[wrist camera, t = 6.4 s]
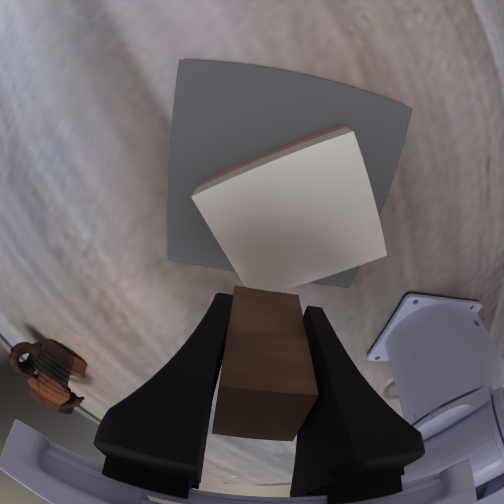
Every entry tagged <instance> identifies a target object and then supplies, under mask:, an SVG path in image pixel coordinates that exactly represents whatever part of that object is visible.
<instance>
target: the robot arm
mask: <svg viewBox="0 0 504 504" xmlns="http://www.w3.org/2000/svg"><path fill="white" fill-rule="evenodd" d="M233 296H234V295H230V294H224V293H217V294H216V295H215V297H214V300H213V302H212V304H211V306H210V307H209V309H208V311H207V313H206V314H205V316H204V318H203V319H202V320H201V322H200V323H199V325H198V326H197V328H196V329H195V331H194V332H193V333H192V335H191V336H190V337H189V339H188V340H187V341H186V342H185V344H184V345H183V346H182V347H181V348H180V350H179V351H178V352H177V353H176V354H175V355H174V356H173V357H172V358H171V360H170V361H169V362H168V363H167V364H166V365H165V366H164V367H163V368H162V369H160V370H159V371H158V372H157V373H156V374H155V375H154V376H153V377H152V378H151V379H150V380H148V381H147V382H146V383H145V384H143V385H142V386H141V387H140V388H138V389H137V390H136V391H135V392H133V393H132V394H131V395H129V396H128V397H126V398H125V399H123V400H122V401H120V402H119V403H117V404H116V405H114V406H113V407H111V408H110V409H109V410H108V411H107V413H106V414H105V416H104V417H103V419H102V421H101V423H100V425H99V427H98V430H97V433H96V437H95V440H94V445H95V446H96V448H97V449H98V450H100V451H101V452H102V453H103V454H104V455H105V456H106V459H105V463H104V465H103V464H100V463H97V462H95V461H92V460H90V459H87V458H85V457H83V456H80V455H78V454H76V453H73V452H71V451H69V450H67V449H65V448H62V447H61V446H59V445H57V444H55V443H52V442H50V441H49V440H48V439H47V438H46V437H45V436H43V435H42V434H41V433H39V432H38V431H36V430H34V429H33V428H31V427H29V426H27V425H26V424H24V423H22V422H21V421H19V420H17V419H16V420H15V421H14V424H13V426H12V428H11V431H10V433H9V436H8V438H7V441H6V444H5V447H4V449H3V452H2V455H1V458H0V469H1V470H2V471H4V472H5V473H6V474H8V475H9V476H11V477H12V478H13V479H15V480H16V481H18V482H19V483H21V484H22V485H23V486H25V487H26V488H28V489H30V490H31V491H33V492H34V493H35V494H37V495H39V496H40V497H42V498H43V499H45V500H47V501H48V502H50V503H51V504H161V503H158V502H154V501H150V500H149V498H148V497H147V496H146V495H148V496H152V497H155V498H159V499H163V500H168V501H172V502H177V503H181V504H504V388H503V387H502V384H503V378H504V366H503V361H502V358H501V356H500V354H499V352H498V350H497V348H496V346H495V344H494V342H493V340H492V338H491V336H490V334H489V333H488V331H487V329H486V327H485V325H484V324H483V322H482V320H481V318H480V317H479V315H478V312H479V310H480V309H481V307H482V304H481V303H480V302H478V301H469V300H461V299H452V298H444V297H436V296H428V295H420V294H408V295H406V296H405V297H404V299H403V301H402V302H401V304H400V306H399V307H398V309H397V311H396V312H395V314H394V316H393V317H392V319H391V320H390V322H389V324H388V325H387V327H386V328H385V330H384V331H383V333H382V334H381V336H380V337H379V339H378V340H377V342H376V343H375V345H374V346H373V348H372V349H371V350H370V352H369V353H368V355H367V358H368V360H369V361H389V363H390V366H391V370H392V373H393V377H394V381H395V384H396V388H397V392H398V396H399V400H400V404H401V408H402V412H403V417H404V419H403V418H402V417H401V416H400V415H398V414H397V413H396V412H395V411H394V410H393V409H392V408H391V407H390V406H389V405H388V404H387V403H386V402H385V401H384V400H383V399H382V398H381V397H380V396H379V395H378V394H377V393H376V392H375V390H374V389H373V388H372V387H371V386H370V385H369V383H368V382H367V381H366V379H365V378H364V377H363V376H362V374H361V373H360V372H359V370H358V369H357V367H356V366H355V364H354V363H353V361H352V360H351V358H350V357H349V355H348V354H347V352H346V350H345V349H344V347H343V345H342V344H341V342H340V340H339V339H338V337H337V335H336V333H335V331H334V330H333V328H332V326H331V324H330V322H329V320H328V319H327V317H326V315H325V313H324V311H323V309H322V308H321V307H313V306H307V308H306V310H305V313H304V316H303V322H304V327H305V332H306V335H307V338H308V343H309V348H310V353H311V358H312V363H313V368H314V373H315V378H316V384H317V389H318V394H319V395H318V397H317V399H316V401H315V403H314V404H313V406H312V408H311V410H310V412H309V414H308V415H307V417H306V419H305V421H304V423H303V424H302V426H301V428H300V430H299V431H298V433H297V443H296V454H295V464H294V472H293V478H292V485H291V491H290V497H254V496H240V495H230V494H221V493H213V492H206V491H200V490H194V489H192V488H195V489H199V483H200V482H201V476H202V468H203V461H204V454H205V447H206V440H207V433H208V426H209V419H210V413H211V406H212V400H213V396H214V392H215V388H216V384H217V380H218V376H219V372H220V368H221V365H222V361H223V356H224V349H225V343H226V337H227V330H228V325H229V322H230V315H231V309H232V302H233ZM414 300H415V301H414Z"/></svg>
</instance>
